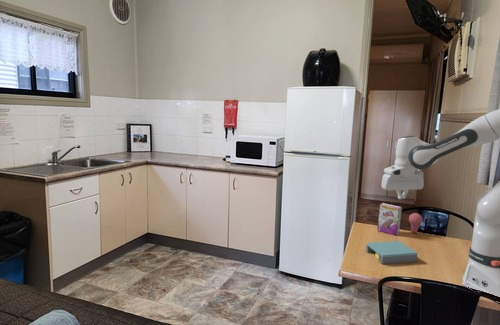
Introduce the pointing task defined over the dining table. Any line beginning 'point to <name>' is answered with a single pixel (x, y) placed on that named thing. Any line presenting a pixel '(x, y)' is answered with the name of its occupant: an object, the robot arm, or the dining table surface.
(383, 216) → the candy bar box
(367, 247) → the pair of grey bars
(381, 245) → the panel
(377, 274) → the dining table surface
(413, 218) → the light bulb
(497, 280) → the robot arm
